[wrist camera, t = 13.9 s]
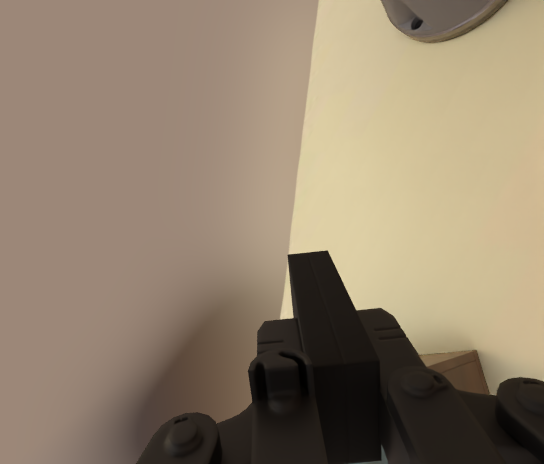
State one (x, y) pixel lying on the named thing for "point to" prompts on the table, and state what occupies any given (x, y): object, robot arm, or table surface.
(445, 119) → the table surface
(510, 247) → the table surface
